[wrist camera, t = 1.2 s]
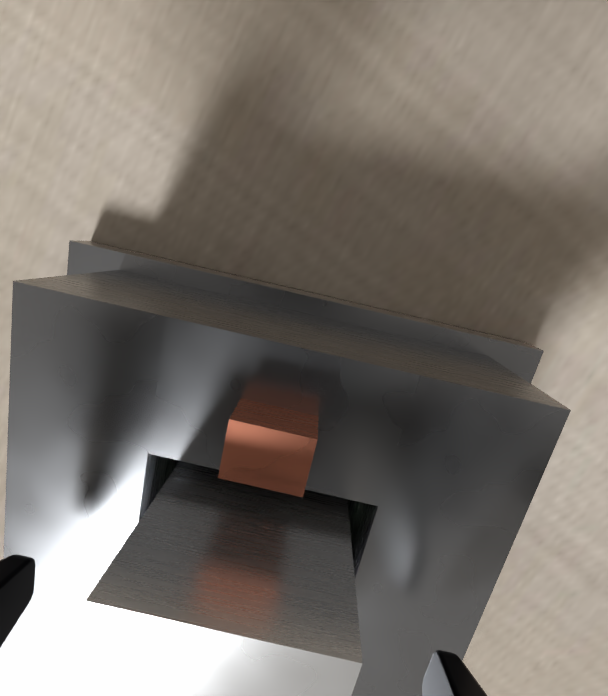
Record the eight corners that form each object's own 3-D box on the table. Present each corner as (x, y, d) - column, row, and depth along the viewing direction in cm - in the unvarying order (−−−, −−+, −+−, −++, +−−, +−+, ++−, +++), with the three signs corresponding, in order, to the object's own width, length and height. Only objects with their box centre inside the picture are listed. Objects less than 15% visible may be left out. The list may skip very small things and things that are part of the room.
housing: (526, 342, 12) (706, 427, 7) (414, 633, 15) (469, 868, 10) (89, 241, 12) (-124, 234, 6) (64, 553, 15) (-97, 742, 9)
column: (345, 432, 12) (371, 659, 6) (314, 542, 13) (305, 846, 7) (214, 402, 12) (79, 593, 5) (194, 514, 13) (59, 791, 7)
